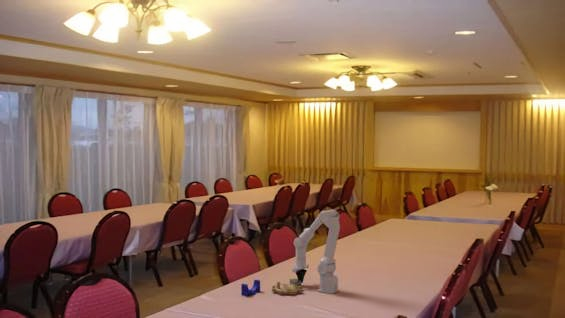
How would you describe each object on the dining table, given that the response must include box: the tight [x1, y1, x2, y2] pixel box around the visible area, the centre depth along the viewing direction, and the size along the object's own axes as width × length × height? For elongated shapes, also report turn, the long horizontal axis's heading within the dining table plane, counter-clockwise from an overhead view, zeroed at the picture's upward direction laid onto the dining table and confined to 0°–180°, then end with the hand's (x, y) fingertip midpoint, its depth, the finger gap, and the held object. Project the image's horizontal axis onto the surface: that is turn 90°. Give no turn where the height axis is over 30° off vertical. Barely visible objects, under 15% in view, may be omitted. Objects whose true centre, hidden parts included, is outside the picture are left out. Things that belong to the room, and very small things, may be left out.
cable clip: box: [240, 279, 261, 297], centre depth 297 cm, size 12×4×6 cm, turn 143°
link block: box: [289, 278, 302, 286], centre depth 311 cm, size 6×4×4 cm, turn 28°
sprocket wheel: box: [271, 281, 304, 296], centre depth 301 cm, size 17×17×5 cm
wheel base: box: [275, 292, 299, 296], centre depth 301 cm, size 13×13×1 cm
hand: (300, 282), depth 313 cm, fingers closed
